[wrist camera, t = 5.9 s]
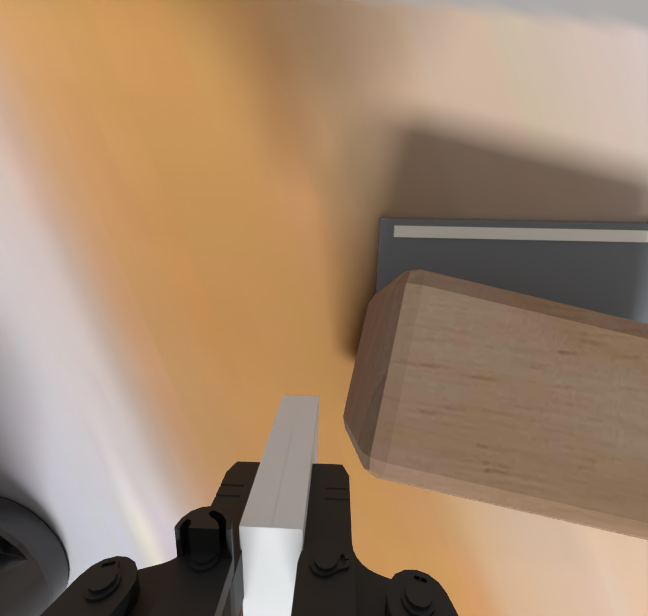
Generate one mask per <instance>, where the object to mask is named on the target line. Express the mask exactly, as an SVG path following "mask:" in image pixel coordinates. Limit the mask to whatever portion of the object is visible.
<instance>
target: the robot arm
mask: <svg viewBox="0 0 648 616" xmlns="http://www.w3.org/2000/svg"><path fill="white" fill-rule="evenodd" d="M318 405H319V396H300V395H283V396H282V399H281V402H280V405H279V408H278V411H277V414H276V417H275V420H274V423H273V426H272V429H271V432H270V435H269V438H268V441H267V444H266V447H265V450H264V453H263V456H262V459H261V462H237V463H235V464H234V465H233V466H232V467H231V468H230V469H229V470H228V471H227V472H226V474H225V477H224V479H223V481H222V483H221V487H219V490H218V492H217V494H216V497H215V498H214V501H213V503H212V505H211V506H208V507H201V508H199V509H196V510H193V511H191V512H190V513H188V514H187V515H185V516H184V517H183V518H181V519H180V521H179V522H178V523H177V525H176V526H175V538H176V548H177V557H176V558H175V559H173V560H171V561H168V562H165V563H163V564H159V565H155V566H151V567H147V568H143V569H139V570H137V567H136V564H135V562H134V561H133V560H131V559H130V558H128V557H121V556H116V557H112V558H108V559H104V560H102V561H100V562H98V563H96V564H94V565H92V566H91V567H90V568H89V569H87V570H86V571H85V572H84V573H82V574H81V575H80V576H79V577H78V578H77V579H76V580H75V581H74V582H73V583H72V584H71V585H70V586H69V587H68V588H67V589H66V587H67V583H68V564H67V560H66V556H65V553H64V551H63V549H62V547H61V545H60V543H59V541H58V539H57V538H56V537H55V535H54V534H53V533H52V531H51V530H50V529H49V528H48V527H47V526H46V525H45V524H44V523H43V522H42V521H41V520H40V519H39V518H38V517H37V516H35V515H34V514H33V513H31V512H30V511H28V510H27V509H25V508H23V507H22V506H20V505H18V504H16V503H14V502H12V501H10V500H7V499H5V498H2V497H0V616H239V615H240V611H241V607H242V603H243V616H458V614H457V612H456V610H455V608H454V606H453V604H452V603H451V601H450V599H449V597H448V595H447V593H446V592H445V590H444V589H443V588H442V586H441V585H440V584H439V582H437V581H436V580H435V579H433V578H432V577H431V576H429V575H428V574H426V573H423V572H420V571H418V570H404V571H401V572H399V573H396V574H395V575H394V576H393V578H392V579H389V578H386V577H384V576H381V575H378V574H376V573H374V572H372V571H370V570H369V569H367V568H366V567H365V566H364V565H362V564H361V562H360V561H359V560H358V558H357V557H356V555H355V553H354V551H353V547H352V536H351V512H350V491H349V475H348V473H347V472H346V470H345V468H344V467H343V465H337V464H317V457H318Z"/></svg>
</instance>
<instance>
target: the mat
mask: <svg viewBox="0 0 648 616" xmlns="http://www.w3.org/2000/svg"><path fill="white" fill-rule="evenodd" d="M418 269H422V270H426V271H430V272H434V273H438V274H443V275H447V276H451V277H455V278H459V279H463V280H467V281H472V282H476V283H480V284H484V285H488V286H492V287H496V288H501V289H505V290H509V291H513V292H517V293H521V294H525V295H530V296H534V297H538V298H542V299H546V300H550V301H554V302H559V303H563V304H567V305H571V306H575V307H579V308H584V309H588V310H592V311H596V312H600V313H604V314H608V315H613V316H617V317H621V318H625V319H629V320H633V321H637V322H642V323H646V324H648V223H618V222H566V221H515V220H463V219H412V218H380V222H379V240H378V259H377V277H376V293H378V292H379V291H380V290H382V289H383V288H384V287H386V286H387V285H388V284H389V283H391V282H392V281H393V280H395V279H396V278H397V277H399V276H400V275H401V274H402V273H404V272H405V271H411V270H418Z"/></svg>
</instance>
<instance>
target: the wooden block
mask: <svg viewBox="0 0 648 616" xmlns="http://www.w3.org/2000/svg"><path fill="white" fill-rule="evenodd" d="M343 417H344V423H345V428H346V430H347V432H348V435H349V437H350V439H351V441H352V443H353V446H354V448H355V450H356V452H357V454H358V457H359V459H360V461H361V463H362V465H363V467H364V469H366V470H367V471H368V472H370V473H371V474H372V475H374V476H375V477H377V478H379V479H383V480H387V481H392V482H396V483H401V484H405V485H409V486H414V487H418V488H422V489H427V490H431V491H436V492H440V493H444V494H449V495H453V496H457V497H462V498H466V499H471V500H475V501H479V502H484V503H488V504H493V505H497V506H501V507H506V508H510V509H514V510H519V511H523V512H528V513H532V514H536V515H541V516H545V517H549V518H554V519H558V520H563V521H567V522H571V523H576V524H580V525H584V526H589V527H593V528H598V529H602V530H606V531H611V532H615V533H619V534H624V535H628V536H633V537H637V538H641V539H646V540H648V324H646V323H642V322H637V321H633V320H629V319H625V318H621V317H617V316H613V315H608V314H604V313H600V312H596V311H592V310H588V309H584V308H579V307H575V306H571V305H567V304H563V303H559V302H554V301H550V300H546V299H542V298H538V297H534V296H530V295H525V294H521V293H517V292H513V291H509V290H505V289H501V288H496V287H492V286H488V285H484V284H480V283H476V282H472V281H467V280H463V279H459V278H455V277H451V276H447V275H443V274H438V273H434V272H430V271H426V270H422V269H418V270H411V271H405V272H404V273H402V274H401V275H400V276H399V277H397V278H396V279H395V280H393V281H392V282H391V283H389V284H388V285H387V286H386V287H384V288H383V289H382V290H380V291H379V292H378V293H376V294H375V295H374V296H373V298H372V299H371V300H370V302H369V303H368V306H367V311H366V315H365V320H364V324H363V329H362V334H361V338H360V343H359V347H358V352H357V356H356V361H355V365H354V370H353V374H352V379H351V384H350V388H349V393H348V397H347V402H346V406H345V411H344V415H343Z"/></svg>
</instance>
